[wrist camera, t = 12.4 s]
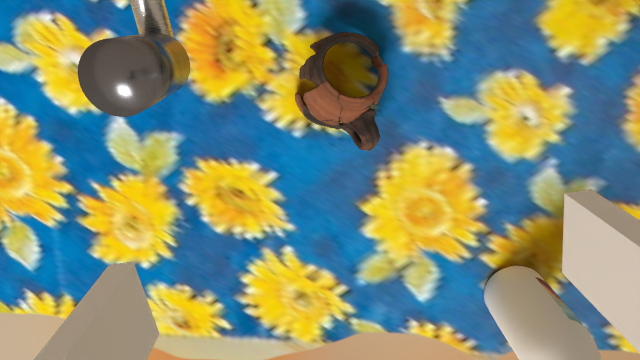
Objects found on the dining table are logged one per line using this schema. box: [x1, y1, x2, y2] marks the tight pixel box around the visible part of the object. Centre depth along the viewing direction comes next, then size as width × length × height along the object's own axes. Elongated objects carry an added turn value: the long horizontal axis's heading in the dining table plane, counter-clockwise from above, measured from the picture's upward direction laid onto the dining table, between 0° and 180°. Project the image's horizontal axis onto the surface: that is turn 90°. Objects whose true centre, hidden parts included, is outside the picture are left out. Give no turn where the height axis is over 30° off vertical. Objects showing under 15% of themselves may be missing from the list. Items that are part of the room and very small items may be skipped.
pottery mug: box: [295, 32, 388, 151], centre depth 46 cm, size 12×9×8 cm
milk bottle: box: [484, 266, 601, 360], centre depth 48 cm, size 8×8×20 cm
